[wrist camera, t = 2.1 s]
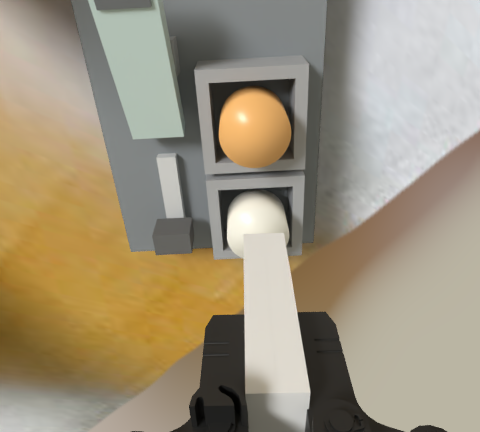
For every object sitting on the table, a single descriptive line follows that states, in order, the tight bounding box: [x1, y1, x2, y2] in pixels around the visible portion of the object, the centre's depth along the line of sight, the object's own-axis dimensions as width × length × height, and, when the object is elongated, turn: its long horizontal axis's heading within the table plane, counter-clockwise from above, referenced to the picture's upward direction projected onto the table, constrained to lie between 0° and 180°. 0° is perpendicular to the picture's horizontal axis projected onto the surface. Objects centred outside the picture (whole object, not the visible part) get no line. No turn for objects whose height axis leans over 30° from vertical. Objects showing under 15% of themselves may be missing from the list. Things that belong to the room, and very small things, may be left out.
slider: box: [152, 217, 194, 255], centre depth 31 cm, size 3×2×2 cm, turn 93°
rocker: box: [88, 0, 185, 139], centre depth 24 cm, size 4×10×2 cm, turn 3°
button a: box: [227, 189, 289, 259], centre depth 29 cm, size 4×4×3 cm
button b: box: [219, 86, 291, 168], centre depth 26 cm, size 4×4×3 cm
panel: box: [71, 0, 327, 259], centre depth 29 cm, size 16×23×7 cm
